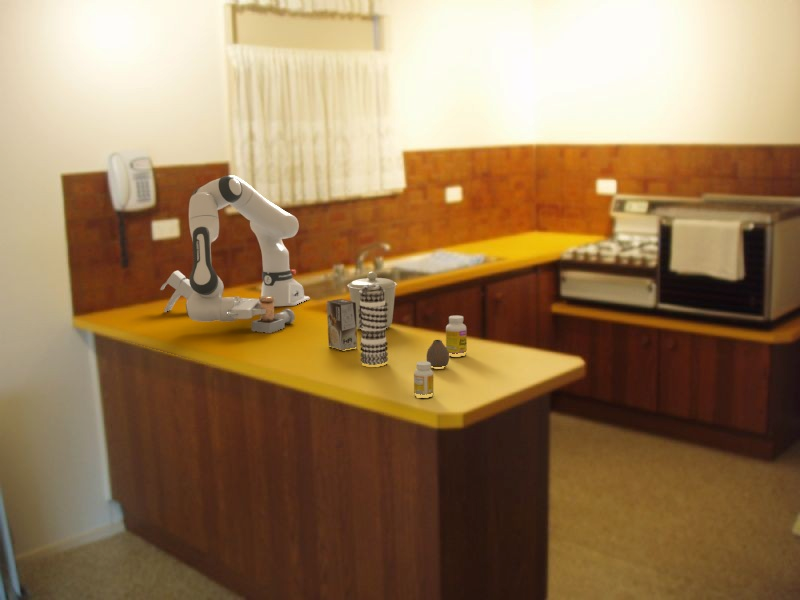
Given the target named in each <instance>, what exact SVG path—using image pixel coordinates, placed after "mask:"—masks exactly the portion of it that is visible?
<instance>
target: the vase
mask: <svg viewBox="0 0 800 600" xmlns="http://www.w3.org/2000/svg"><path fill="white" fill-rule="evenodd" d="M426 361H427V362H430V363H431V366H433V367H442V366H446V365H447V366H448V365H449V361H450V357H449V353H448V350H447V348H446V345H445V344H444V343H443V341H442V339H434V340H433V341H432V344H431V345H430V346H429V347H428V348H427V352H426ZM447 366H446V367H447Z"/></svg>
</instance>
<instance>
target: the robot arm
mask: <svg viewBox="0 0 800 600" xmlns="http://www.w3.org/2000/svg"><path fill="white" fill-rule="evenodd" d="M229 205H230V206H231V207H233V209H235V211H237V212H238V213H239V214H240V215H242V216H243V217H244V218H245V219H246V220H248V221H249V226H250V229H251V231H252V232H253V233H254V235H255V237H256V239H257V242H258V243H259V248H260V250H261V257H262V258H261V259H262V271H261V278H262V283H261V294H260V295H261V296H260V297H263V296H273V297H274V299H275V301H274V307H289V306H291V307H292V306H297V304H298V305H299V303H300V304H302V303H304V301H305V302H306V300H307V301H309V300H311V297H310V296H308V295H305V291H304V287H303V285H302V284H301V283H299V282H298V281H297V280H295V278H294V277H293V276H294V275H296V269H290V252H289V250H288V249H287V247H286V246H285V244H284V242H283V240H286V239H289V238H290V239H291V238H294V237H295V236H296V235H297V233H298V231H299V228H300V225H299V220H298V218H297V217H296V216H295V215H293V214H291V213H289V212H287V211H285V210H284V209H282V208H281V207H279V206H278V205H276V204H274V202H271V201H270V200H268V199H267V198H266V197H264V196H262V194H260V193H259V192H258V191H257V190H255V188H253V187H252V186H251V185H250V184H249V183H247V182H246V181H244V180H243V179H242V178H240V177H238V176H236V175H233V174H229V175H225V176H224V175H223V176H222V177H220V178H217V179H213V180H211V181H209V182H208V183H206V184H204V185H203V186H201V187H198V188H197V189H196V190H194V191H193V193H192V195H191V196H190V199H189V204H188V225H189V231H190V237H191V240H192V255H193V257H192V259H193V265H192V269H191V272H190V275H189V282H190V286H191V287H192V289H193V290H194V292H193V294H192V295H191V297H190V298H189V299H188V300H187V299H186V303H185V310H186V313H187V316H188V317H189V319H191V320H192V321H194V322H195V321H196V322H215V321H219V322H236V321H237V320H250V319H252V318H253V317H254V316H259V315H261V314H265V313H266V309H265V308H261V305H260V301H259V298H253V297H252V298H251V297H250V298H249V297H240V296H228V297H225V296H224V297H223V294H224V283H223V281H222V279H221V278H220V276H218V275H217V273H216V271H215V269H214V267H213V265H212V253H211V252H212V250H211V248H212V247H211V245H212V243H213V242H215V241H216V240H217V239H218V238H219V233H220V218H219V212H218V211H219V210H222V209H224V208H225V207H227V206H229ZM301 302H302V303H301Z"/></svg>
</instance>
